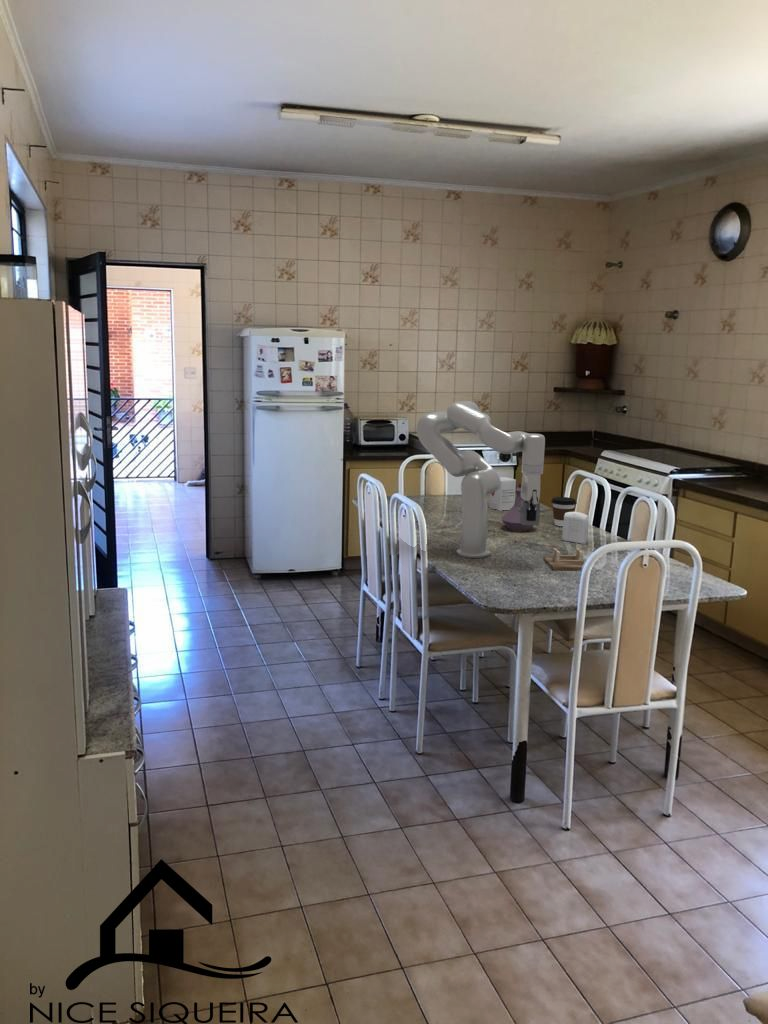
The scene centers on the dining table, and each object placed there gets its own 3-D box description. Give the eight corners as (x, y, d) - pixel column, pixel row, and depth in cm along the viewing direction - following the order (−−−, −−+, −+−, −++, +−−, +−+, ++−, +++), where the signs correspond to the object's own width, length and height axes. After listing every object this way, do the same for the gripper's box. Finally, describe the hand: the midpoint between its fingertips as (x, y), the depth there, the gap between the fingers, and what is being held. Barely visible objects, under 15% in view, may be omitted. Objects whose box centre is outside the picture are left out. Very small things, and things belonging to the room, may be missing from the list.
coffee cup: (568, 529, 352) (570, 502, 350) (545, 525, 359) (547, 499, 356) (579, 525, 361) (580, 498, 359) (556, 521, 367) (558, 495, 365)
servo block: (514, 522, 294) (516, 498, 292) (541, 522, 295) (542, 498, 293) (517, 524, 290) (518, 500, 288) (543, 525, 291) (545, 501, 289)
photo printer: (588, 542, 330) (590, 512, 328) (584, 544, 327) (587, 514, 324) (564, 538, 336) (566, 509, 333) (560, 540, 333) (562, 511, 330)
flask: (507, 534, 342) (509, 487, 338) (494, 525, 358) (496, 480, 354) (544, 533, 346) (547, 486, 341) (529, 524, 361) (532, 480, 357)
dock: (543, 559, 303) (544, 545, 302) (580, 560, 304) (581, 545, 303) (553, 570, 289) (554, 555, 288) (591, 570, 290) (593, 555, 289)
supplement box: (488, 508, 395) (490, 477, 392) (503, 506, 399) (505, 476, 396) (499, 511, 387) (501, 480, 384) (514, 510, 391) (516, 479, 388)
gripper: (516, 465, 296) (514, 514, 300) (527, 472, 280) (524, 524, 284) (537, 465, 297) (534, 514, 300) (548, 472, 280) (545, 524, 284)
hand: (529, 518), depth 292 cm, fingers closed on servo block, 4 cm apart
